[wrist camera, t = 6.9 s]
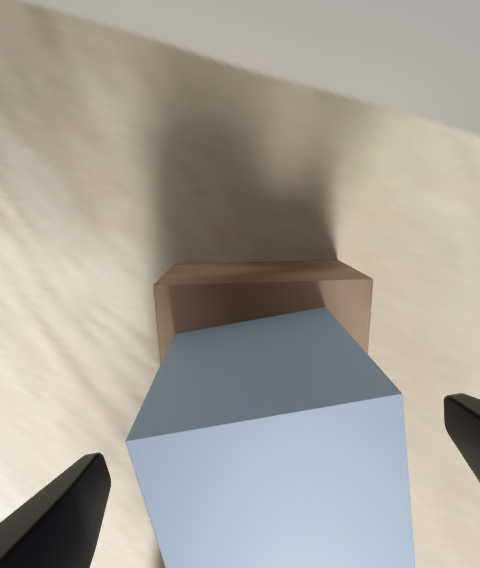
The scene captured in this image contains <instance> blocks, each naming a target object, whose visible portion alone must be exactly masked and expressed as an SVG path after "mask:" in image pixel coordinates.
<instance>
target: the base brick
mask: <svg viewBox="0 0 480 568" xmlns="http://www.w3.org/2000/svg"><path fill="white" fill-rule="evenodd" d="M153 286H154V296H155V307H156V318H157V329H158V340H159V351H160V362H161V364H162V361H163V359H164V357H165V355H166V353H167V351H168V348H169V346H170V344H171V342H172V340H173V338H174V335H175V334H179V333H184V332H190V331H195V330H201V329H206V328H212V327H217V326H223V325H228V324H234V323H239V322H245V321H250V320H256V319H261V318H267V317H272V316H278V315H283V314H289V313H294V312H300V311H305V310H311V309H316V308H322V307H326V308H327V309H328V310H329V311H330V313H331V314H332V315H333V316H334V317H335V318H336V319H337V320H338V322H339V323H340V324H341V325H342V326H343V327H344V328H345V329H346V331H347V332H348V333H349V334H350V335H351V336H352V337H353V339H354V340H355V341H356V342H357V343H358V344H359V345H360V346H361V348H362V349H363V350H364V351H365V352H366V353H367V354H368V343H369V329H370V316H371V302H372V288H373V279H372V278H370V277H368V276H366V275H365V274H363V273H361V272H359V271H357V270H355V269H353V268H352V267H350V266H348V265H346V264H344V263H342V262H340V261H339V260H319V261H283V262H246V263H210V264H175V265H174V266H173V267H172V268H171V269H170V270H169V271H168V272H167V273H166V274H165V275H164V276H162V277H161V278H160V279H159V280H158V281H157V282H156V283H155V284H154V285H153Z"/></svg>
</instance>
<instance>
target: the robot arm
mask: <svg viewBox="0 0 480 568" xmlns="http://www.w3.org/2000/svg"><path fill="white" fill-rule="evenodd" d="M444 422H445V427H446V430H447V432H448V434H449V436H450V437H451V439H452V440H453V442H454V443H455V445H456V446H457V448H458V450H459V451H460V453H461V454H462V456H463V457H464V459H465V460H466V462H467V463H468V465H469V466H470V468H471V470H472V471H473V473H474V474H475V476H476V477H477V479H478V480H479V482H480V399H477V398H474V397H471V396H469V395H466V394H463V393H458V394H452V395H447V396H446V397H445V398H444ZM110 487H111V478H110V474H109V471H108V468H107V465H106V462H105V459H104V457H103V455H102V454H101V453H93V454H87V455H84V456H83V457H82V458H80V459H79V460H78V461H77V462H75V463H74V464H73V465H72V466H70V467H69V468H68V469H67V470H65V471H64V472H63V473H62V474H60V475H59V476H58V477H57V478H55V479H54V480H53V481H52V482H50V483H49V484H48V485H47V486H45V487H44V488H43V489H42V490H40V491H39V492H38V493H37V494H35V495H34V496H33V497H32V498H30V499H29V500H28V501H27V502H25V503H24V504H23V505H22V506H20V507H19V508H18V509H17V510H15V511H14V512H13V513H12V514H11V515H9V516H8V517H7V518H6V519H4V520H3V521H2V522H1V523H0V568H90V565H91V561H92V558H93V555H94V552H95V548H96V545H97V541H98V537H99V533H100V529H101V525H102V520H103V516H104V512H105V508H106V504H107V500H108V496H109V492H110Z"/></svg>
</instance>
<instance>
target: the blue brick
mask: <svg viewBox="0 0 480 568" xmlns="http://www.w3.org/2000/svg"><path fill="white" fill-rule="evenodd" d="M125 442H126V445H127V448H128V451H129V454H130V457H131V460H132V464H133V467H134V470H135V473H136V476H137V479H138V482H139V486H140V489H141V492H142V495H143V498H144V501H145V504H146V508H147V511H148V514H149V517H150V520H151V523H152V527H153V530H154V533H155V536H156V539H157V542H158V545H159V549H160V552H161V555H162V558H163V561H164V564H165V567H166V568H415V556H414V542H413V529H412V516H411V503H410V490H409V477H408V463H407V450H406V437H405V424H404V411H403V397H402V393H401V392H400V391H399V390H398V388H397V387H396V386H395V385H394V384H393V383H392V382H391V380H390V379H389V378H388V377H387V376H386V375H385V374H384V373H383V371H382V370H381V369H380V368H379V367H378V366H377V365H376V363H375V362H374V361H373V360H372V359H371V358H370V357H369V356H368V354H367V353H366V352H365V351H364V350H363V349H362V348H361V346H360V345H359V344H358V343H357V342H356V341H355V340H354V339H353V337H352V336H351V335H350V334H349V333H348V332H347V331H346V329H345V328H344V327H343V326H342V325H341V324H340V323H339V322H338V320H337V319H336V318H335V317H334V316H333V315H332V314H331V313H330V311H329V310H328V309H327V308H326V307H322V308H316V309H311V310H305V311H300V312H294V313H289V314H283V315H278V316H272V317H267V318H261V319H256V320H250V321H245V322H239V323H234V324H228V325H223V326H217V327H212V328H206V329H201V330H195V331H190V332H184V333H179V334H175V335H174V338H173V340H172V342H171V344H170V346H169V348H168V351H167V353H166V355H165V357H164V359H163V361H162V364H161V366H160V368H159V370H158V372H157V374H156V377H155V379H154V381H153V383H152V385H151V387H150V390H149V392H148V394H147V396H146V398H145V400H144V403H143V405H142V407H141V409H140V411H139V413H138V415H137V418H136V420H135V422H134V424H133V426H132V428H131V431H130V433H129V435H128V437H127V439H126V441H125Z"/></svg>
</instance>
